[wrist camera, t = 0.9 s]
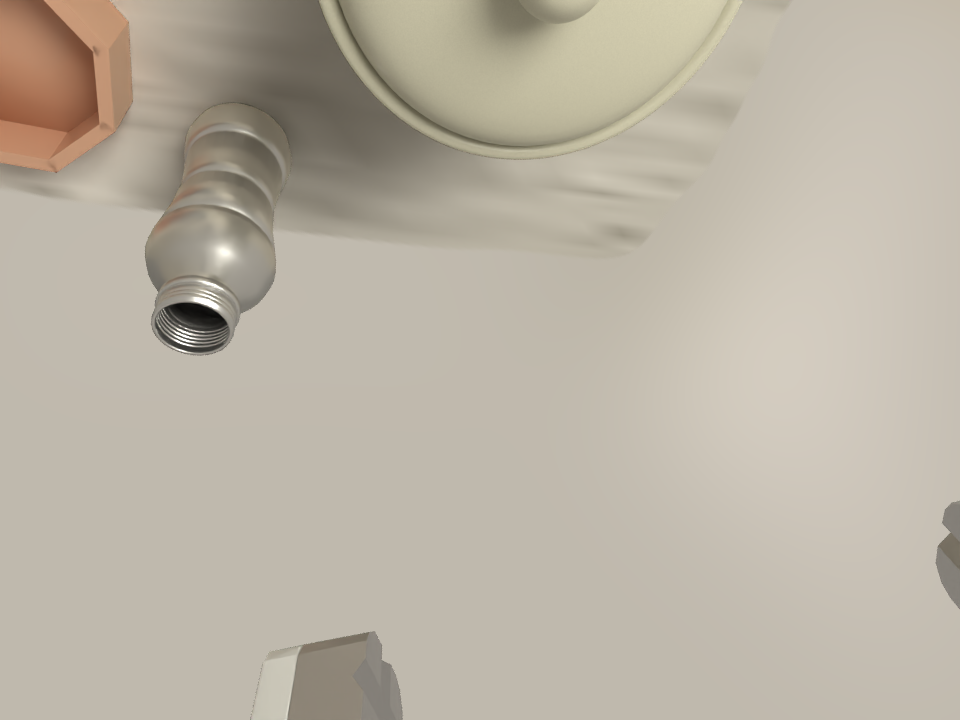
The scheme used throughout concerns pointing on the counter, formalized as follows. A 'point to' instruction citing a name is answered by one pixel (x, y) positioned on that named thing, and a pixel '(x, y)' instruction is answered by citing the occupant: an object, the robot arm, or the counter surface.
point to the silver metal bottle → (218, 229)
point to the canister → (525, 65)
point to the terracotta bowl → (60, 79)
